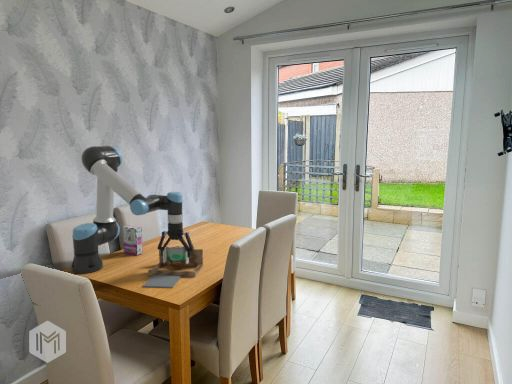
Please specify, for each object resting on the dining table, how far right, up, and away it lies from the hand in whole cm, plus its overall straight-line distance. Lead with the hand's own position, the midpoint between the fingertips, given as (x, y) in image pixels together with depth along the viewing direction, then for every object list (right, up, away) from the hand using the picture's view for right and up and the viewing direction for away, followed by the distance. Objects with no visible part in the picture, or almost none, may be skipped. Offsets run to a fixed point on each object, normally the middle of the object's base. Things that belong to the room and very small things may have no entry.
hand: (175, 262), depth 187 cm
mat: (-3, -6, -15) cm, 17 cm away
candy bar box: (-32, 0, +29) cm, 43 cm away
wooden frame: (0, -4, 0) cm, 4 cm away
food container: (+1, -2, 0) cm, 2 cm away
